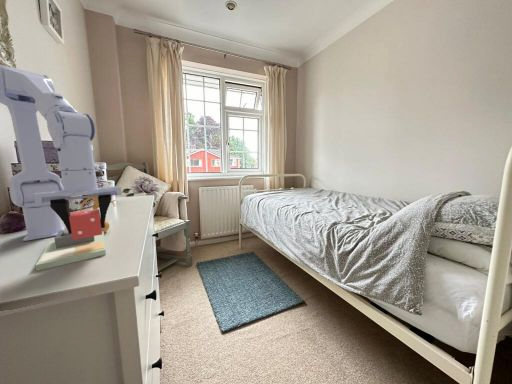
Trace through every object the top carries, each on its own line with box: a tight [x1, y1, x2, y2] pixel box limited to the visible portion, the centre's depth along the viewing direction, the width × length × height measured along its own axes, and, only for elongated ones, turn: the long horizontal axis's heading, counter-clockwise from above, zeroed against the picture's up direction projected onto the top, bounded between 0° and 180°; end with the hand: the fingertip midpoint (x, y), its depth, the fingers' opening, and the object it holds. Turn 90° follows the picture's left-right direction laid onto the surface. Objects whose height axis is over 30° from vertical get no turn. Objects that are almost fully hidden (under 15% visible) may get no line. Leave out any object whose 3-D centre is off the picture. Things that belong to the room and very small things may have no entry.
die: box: [69, 208, 102, 240], centre depth 47 cm, size 5×5×5 cm
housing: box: [54, 230, 95, 249], centre depth 52 cm, size 7×7×2 cm
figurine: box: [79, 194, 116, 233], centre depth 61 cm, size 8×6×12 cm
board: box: [35, 231, 107, 272], centre depth 50 cm, size 16×11×1 cm
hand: (87, 229), depth 47 cm, fingers closed on die, 5 cm apart
